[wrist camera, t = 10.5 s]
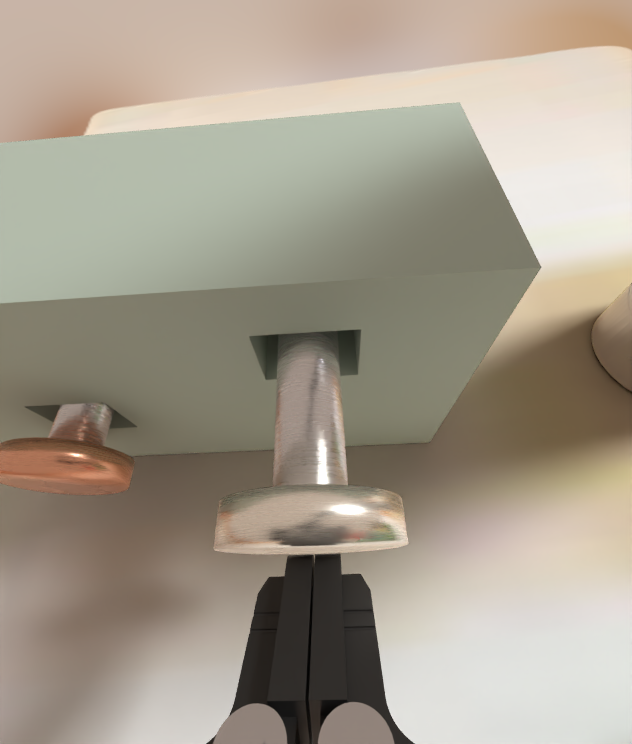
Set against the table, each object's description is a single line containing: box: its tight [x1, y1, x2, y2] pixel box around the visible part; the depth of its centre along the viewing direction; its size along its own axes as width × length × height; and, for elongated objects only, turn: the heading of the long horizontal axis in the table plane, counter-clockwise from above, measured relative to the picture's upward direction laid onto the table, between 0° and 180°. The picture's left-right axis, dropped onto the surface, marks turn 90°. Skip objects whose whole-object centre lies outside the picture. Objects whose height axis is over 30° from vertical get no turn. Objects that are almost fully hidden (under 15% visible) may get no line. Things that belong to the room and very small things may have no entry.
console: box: [0, 102, 541, 456], centre depth 20 cm, size 10×26×15 cm, turn 91°
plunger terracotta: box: [0, 402, 135, 495], centre depth 20 cm, size 13×6×6 cm, turn 1°
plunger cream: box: [214, 331, 408, 554], centre depth 14 cm, size 13×6×6 cm, turn 1°
